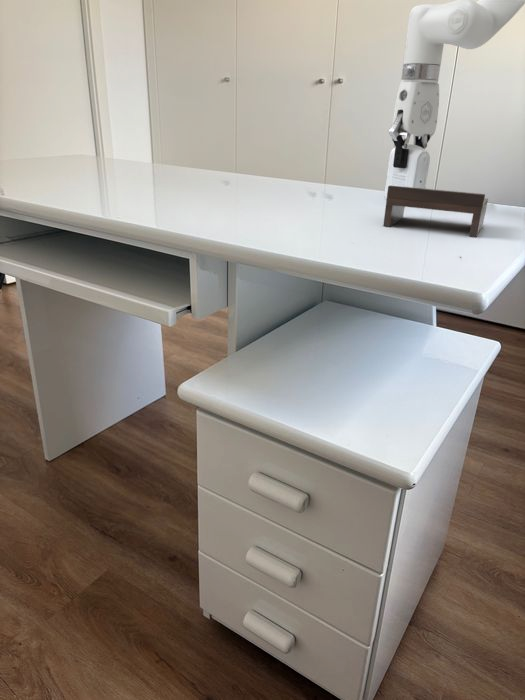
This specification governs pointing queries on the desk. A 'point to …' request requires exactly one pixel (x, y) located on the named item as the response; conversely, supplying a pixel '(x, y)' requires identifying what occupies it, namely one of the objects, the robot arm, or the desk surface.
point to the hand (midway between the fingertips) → (407, 166)
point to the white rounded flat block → (409, 169)
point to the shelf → (435, 204)
